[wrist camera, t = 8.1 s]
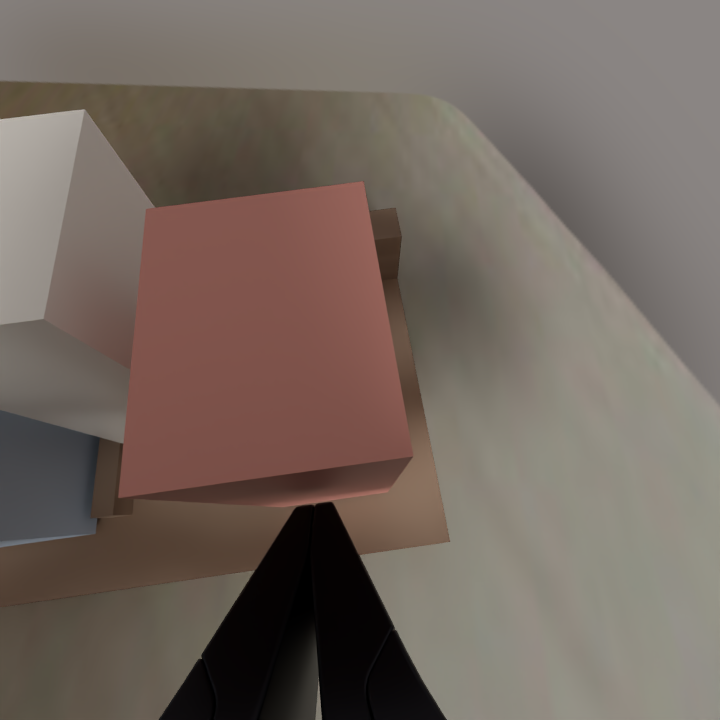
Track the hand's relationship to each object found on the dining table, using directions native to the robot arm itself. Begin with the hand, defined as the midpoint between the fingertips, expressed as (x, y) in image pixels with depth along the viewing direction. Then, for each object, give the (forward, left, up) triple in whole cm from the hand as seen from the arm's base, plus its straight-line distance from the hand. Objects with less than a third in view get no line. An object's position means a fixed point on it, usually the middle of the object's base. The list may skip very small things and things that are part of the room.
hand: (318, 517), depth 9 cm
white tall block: (-1, +8, -6) cm, 10 cm away
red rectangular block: (+2, +2, -6) cm, 7 cm away
